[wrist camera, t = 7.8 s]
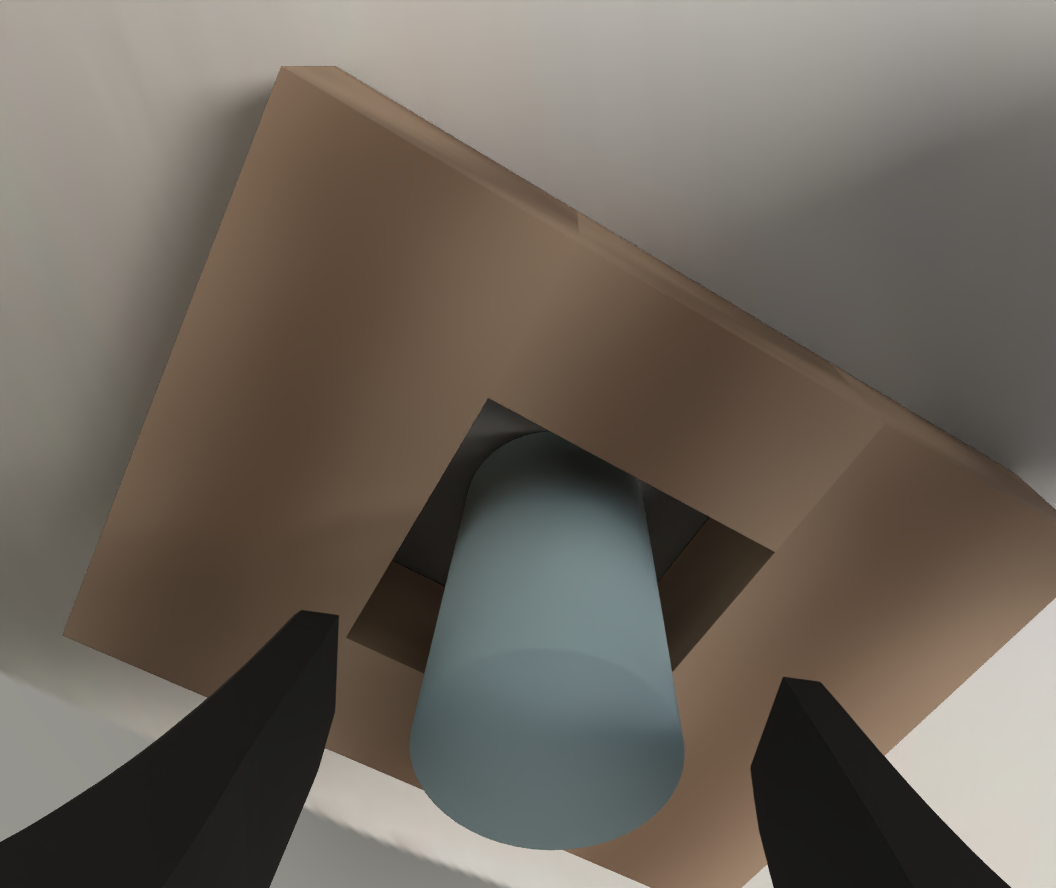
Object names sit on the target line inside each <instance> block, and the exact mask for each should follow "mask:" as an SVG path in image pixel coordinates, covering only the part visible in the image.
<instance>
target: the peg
mask: <svg viewBox="0 0 1056 888" xmlns="http://www.w3.org/2000/svg"><path fill="white" fill-rule="evenodd" d="M410 757H411V761H412V766H413V769H414V772H415V774H416V777H417V779H418V781H419V783H420V784H421V786H422V788H423V790H424V791H425V793H426V794H427V795H428V796H429V798H430V799H431V800H432V801H433V803H434V804H435V805H436V806H437V807H438V808H439V809H441V810H442V811H443V812H444V813H445V814H446V815H447V816H449V817H450V818H451V819H453V820H454V821H455V822H457V823H458V824H460V825H462V826H463V827H465V828H467V829H469V830H470V831H472V832H475V833H477V834H479V835H481V836H483V837H486V838H488V839H491V840H494V841H497V842H500V843H504V844H508V845H512V846H516V847H522V848H529V849H540V850H567V849H576V848H584V847H588V846H593V845H598V844H601V843H604V842H607V841H611V840H614V839H616V838H618V837H621V836H623V835H625V834H627V833H629V832H631V831H633V830H635V829H636V828H638V827H640V826H641V825H643V824H644V823H645V822H647V821H648V820H649V819H651V818H652V817H653V816H654V815H655V814H656V813H657V812H659V811H660V810H661V809H662V808H663V807H664V805H665V804H666V803H667V801H668V800H669V799H670V797H671V796H672V794H673V793H674V791H675V789H676V787H677V785H678V783H679V780H680V777H681V774H682V772H683V765H684V759H685V754H684V740H683V734H682V728H681V722H680V716H679V710H678V704H677V698H676V692H675V686H674V680H673V674H672V669H671V663H670V657H669V651H668V645H667V639H666V633H665V627H664V621H663V615H662V609H661V603H660V597H659V591H658V585H657V579H656V573H655V567H654V561H653V555H652V549H651V543H650V537H649V531H648V525H647V519H646V513H645V507H644V501H643V496H642V491H641V488H640V486H639V483H638V480H637V479H636V477H634V476H632V475H631V474H629V473H627V472H625V471H623V470H621V469H619V468H618V467H616V466H614V465H612V464H610V463H608V462H606V461H605V460H603V459H601V458H599V457H597V456H595V455H593V454H592V453H590V452H588V451H586V450H584V449H582V448H580V447H579V446H577V445H575V444H573V443H571V442H569V441H567V440H566V439H564V438H562V437H560V436H558V435H556V434H554V433H553V432H551V431H549V432H539V433H533V434H528V435H525V436H522V437H519V438H516V439H514V440H512V441H510V442H508V443H506V444H505V445H503V446H501V447H500V448H498V449H497V450H496V451H494V452H493V453H492V454H491V455H490V456H488V458H487V459H486V460H485V461H484V462H483V463H482V464H481V466H480V467H479V469H478V470H477V472H476V473H475V475H474V477H473V479H472V481H471V484H470V487H469V490H468V494H467V498H466V502H465V507H464V511H463V515H462V519H461V523H460V527H459V532H458V536H457V540H456V544H455V548H454V552H453V557H452V561H451V565H450V569H449V573H448V577H447V582H446V586H445V590H444V594H443V598H442V603H441V607H440V611H439V615H438V619H437V623H436V628H435V632H434V636H433V640H432V644H431V648H430V653H429V657H428V661H427V665H426V669H425V673H424V678H423V682H422V686H421V690H420V694H419V698H418V703H417V707H416V711H415V715H414V719H413V723H412V728H411V734H410Z"/></svg>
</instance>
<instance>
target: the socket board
mask: <svg viewBox="0 0 1056 888" xmlns="http://www.w3.org/2000/svg"><path fill="white" fill-rule="evenodd" d="M488 398H489V399H491V400H493V401H495V402H497V403H499V404H500V405H502V406H504V407H506V408H508V409H510V410H512V411H513V412H515V413H517V414H519V415H521V416H523V417H525V418H526V419H528V420H530V421H532V422H534V423H536V424H538V425H539V426H541V427H543V428H545V429H547V430H549V431H551V432H553V433H554V434H556V435H558V436H560V437H562V438H564V439H566V440H567V441H569V442H571V443H573V444H575V445H577V446H579V447H580V448H582V449H584V450H586V451H588V452H590V453H592V454H593V455H595V456H597V457H599V458H601V459H603V460H605V461H606V462H608V463H610V464H612V465H614V466H616V467H618V468H619V469H621V470H623V471H625V472H627V473H629V474H631V475H632V476H634V477H636V478H638V479H640V480H642V481H644V482H646V483H647V484H649V485H651V486H653V487H655V488H657V489H659V490H660V491H662V492H664V493H666V494H668V495H670V496H672V497H673V498H675V499H677V500H679V501H681V502H683V503H685V504H686V505H688V506H690V507H692V508H694V509H696V510H698V511H699V512H701V513H703V514H705V515H707V516H709V518H708V520H707V521H706V522H705V523H704V525H703V526H702V527H701V528H700V530H699V531H698V532H697V533H696V535H695V536H694V537H693V538H692V540H691V541H690V542H689V544H688V545H687V546H686V547H685V549H684V550H683V551H682V552H681V554H680V555H679V556H678V557H677V559H676V560H675V561H674V563H673V564H672V565H671V566H670V568H669V569H668V570H667V571H666V573H665V574H664V575H663V576H662V578H661V579H660V580H659V581H658V583H657V585H658V591H659V597H660V603H661V609H662V615H663V621H664V627H665V633H666V639H667V645H668V651H669V657H670V663H671V669H672V674H673V680H674V686H675V692H676V698H677V704H678V710H679V716H680V722H681V728H682V734H683V740H684V754H685V759H684V765H683V772H682V774H681V777H680V780H679V783H678V785H677V787H676V789H675V791H674V793H673V794H672V796H671V797H670V799H669V800H668V801H667V803H666V804H665V805H664V807H663V808H662V809H661V810H660V811H659V812H657V813H656V814H655V815H654V816H653V817H652V818H651V819H649V820H648V821H647V822H645V823H644V824H643V825H641V826H640V827H638V828H636V829H635V830H633V831H631V832H629V833H627V834H625V835H623V836H621V837H618V838H616V839H614V840H611V841H607V842H604V843H601V844H598V845H593V846H588V847H584V848H576V849H567V850H565V851H567V852H569V853H572V854H574V855H576V856H579V857H581V858H583V859H586V860H588V861H590V862H593V863H595V864H597V865H600V866H602V867H604V868H607V869H609V870H611V871H614V872H616V873H618V874H621V875H623V876H625V877H628V878H630V879H632V880H635V881H637V882H639V883H642V884H644V885H646V886H649V887H651V888H742V887H743V886H744V885H745V884H746V883H747V882H748V881H749V880H750V879H752V878H753V877H754V876H755V875H756V874H757V873H758V872H759V871H760V870H761V869H762V868H763V867H764V866H766V865H767V860H766V856H765V853H764V849H763V845H762V841H761V837H760V833H759V828H758V822H757V815H756V809H755V802H754V794H753V786H752V778H751V770H750V766H751V764H752V761H753V758H754V755H755V752H756V750H757V747H758V744H759V741H760V739H761V736H762V733H763V730H764V728H765V725H766V722H767V719H768V716H769V714H770V711H771V708H772V705H773V703H774V700H775V697H776V694H777V692H778V689H779V686H780V683H781V680H782V678H783V677H790V678H798V679H805V680H812V681H819V682H821V683H822V684H823V685H824V686H825V687H826V689H827V690H828V691H829V692H830V693H831V694H832V695H833V697H834V698H835V699H836V700H837V701H838V702H839V704H840V705H841V706H842V707H843V708H844V709H845V711H846V712H847V713H848V714H849V715H850V716H851V718H852V719H853V720H854V721H855V722H856V724H857V725H858V726H859V727H860V728H861V729H862V731H863V732H864V733H865V734H866V735H867V737H868V738H869V739H870V740H871V741H872V742H873V744H874V745H875V746H876V747H877V748H878V749H879V751H880V752H881V753H882V754H883V755H884V756H885V755H886V754H887V753H888V752H889V751H890V750H891V749H892V748H893V747H894V746H895V745H897V744H898V743H899V742H900V741H901V740H902V739H903V738H904V737H905V736H906V735H907V734H908V733H910V732H911V731H912V730H913V729H914V728H915V727H916V726H917V725H918V724H919V723H920V722H921V721H923V720H924V719H925V718H926V717H927V716H928V715H929V714H930V713H931V712H932V711H933V710H934V709H936V708H937V707H938V706H939V705H940V704H941V703H942V702H943V701H944V700H945V699H946V698H947V697H949V696H950V695H951V694H952V693H953V692H954V691H955V690H956V689H957V688H958V687H959V686H960V685H962V684H963V683H964V682H965V681H966V680H967V679H968V678H969V677H970V676H971V675H972V674H973V673H975V672H976V671H977V670H978V669H979V668H980V667H981V666H982V665H983V664H984V663H985V662H986V661H987V660H989V659H990V658H991V657H992V656H993V655H994V654H995V653H996V652H997V651H998V650H999V649H1000V648H1002V647H1003V646H1004V645H1005V644H1006V643H1007V642H1008V641H1009V640H1010V639H1011V638H1012V637H1013V636H1015V635H1016V634H1017V633H1018V632H1019V631H1020V630H1021V629H1022V628H1023V627H1024V626H1025V625H1026V624H1028V623H1029V622H1030V621H1031V620H1032V619H1033V618H1034V617H1035V616H1036V615H1037V614H1038V613H1039V612H1041V611H1042V610H1043V609H1044V608H1045V607H1046V606H1047V605H1048V604H1049V603H1050V602H1051V601H1052V600H1054V599H1055V598H1056V510H1055V509H1054V508H1053V507H1052V506H1051V505H1050V504H1049V503H1047V502H1046V501H1045V500H1044V499H1043V498H1042V497H1041V496H1040V495H1039V494H1038V493H1036V492H1035V491H1034V490H1033V489H1032V488H1031V487H1030V486H1029V485H1028V484H1026V483H1025V482H1024V481H1023V480H1022V479H1021V478H1020V477H1019V476H1018V475H1016V474H1014V473H1013V472H1011V471H1009V470H1008V469H1006V468H1004V467H1003V466H1001V465H999V464H998V463H996V462H994V461H993V460H991V459H989V458H988V457H986V456H984V455H983V454H981V453H979V452H978V451H976V450H974V449H973V448H971V447H969V446H968V445H966V444H964V443H963V442H961V441H959V440H958V439H956V438H954V437H953V436H951V435H949V434H948V433H946V432H944V431H943V430H941V429H939V428H938V427H936V426H934V425H933V424H931V423H929V422H928V421H926V420H924V419H923V418H921V417H919V416H918V415H916V414H914V413H913V412H911V411H909V410H908V409H906V408H904V407H903V406H901V405H899V404H898V403H896V402H894V401H893V400H891V399H889V398H888V397H886V396H884V395H883V394H881V393H879V392H878V391H876V390H874V389H873V388H871V387H869V386H868V385H866V384H864V383H863V382H861V381H859V380H858V379H856V378H854V377H853V376H851V375H849V374H848V373H846V372H844V371H843V370H841V369H839V368H838V367H836V366H834V365H833V364H831V363H829V362H828V361H826V360H824V359H823V358H821V357H819V356H818V355H816V354H814V353H813V352H811V351H809V350H808V349H806V348H804V347H803V346H801V345H799V344H798V343H796V342H794V341H793V340H791V339H789V338H788V337H786V336H784V335H783V334H781V333H779V332H778V331H776V330H774V329H773V328H771V327H769V326H768V325H766V324H764V323H763V322H761V321H759V320H758V319H756V318H754V317H753V316H751V315H749V314H748V313H746V312H744V311H743V310H741V309H739V308H738V307H736V306H734V305H733V304H731V303H729V302H728V301H726V300H724V299H723V298H721V297H719V296H718V295H716V294H714V293H713V292H711V291H709V290H708V289H706V288H704V287H703V286H701V285H699V284H698V283H696V282H694V281H693V280H691V279H689V278H688V277H686V276H684V275H683V274H681V273H679V272H678V271H676V270H674V269H673V268H671V267H669V266H668V265H666V264H664V263H663V262H661V261H659V260H658V259H656V258H654V257H653V256H651V255H649V254H648V253H646V252H644V251H643V250H641V249H639V248H638V247H636V246H634V245H633V244H631V243H629V242H628V241H626V240H624V239H623V238H621V237H619V236H618V235H616V234H614V233H613V232H611V231H609V230H608V229H606V228H604V227H603V226H601V225H599V224H598V223H596V222H594V221H593V220H591V219H589V218H588V217H586V216H584V215H583V214H581V213H579V212H578V211H576V210H574V209H573V208H571V207H569V206H568V205H566V204H564V203H563V202H561V201H559V200H558V199H556V198H554V197H553V196H551V195H549V194H548V193H546V192H544V191H543V190H541V189H539V188H538V187H536V186H534V185H533V184H531V183H529V182H528V181H526V180H524V179H523V178H521V177H519V176H518V175H516V174H514V173H513V172H511V171H509V170H508V169H506V168H504V167H503V166H501V165H499V164H498V163H496V162H494V161H493V160H491V159H489V158H488V157H486V156H484V155H483V154H481V153H479V152H478V151H476V150H474V149H473V148H471V147H469V146H468V145H466V144H464V143H463V142H461V141H459V140H458V139H456V138H454V137H453V136H451V135H449V134H448V133H446V132H444V131H443V130H441V129H439V128H438V127H436V126H434V125H433V124H431V123H429V122H428V121H426V120H424V119H423V118H421V117H419V116H418V115H416V114H414V113H413V112H411V111H409V110H408V109H406V108H404V107H403V106H401V105H399V104H398V103H396V102H394V101H393V100H391V99H389V98H388V97H386V96H384V95H383V94H381V93H379V92H378V91H376V90H374V89H373V88H371V87H369V86H368V85H366V84H364V83H363V82H361V81H359V80H358V79H356V78H354V77H353V76H351V75H349V74H348V73H346V72H344V71H343V70H341V69H339V68H338V67H336V66H281V68H280V71H279V74H278V76H277V79H276V81H275V84H274V87H273V89H272V92H271V94H270V97H269V100H268V102H267V105H266V107H265V110H264V113H263V115H262V118H261V120H260V123H259V126H258V128H257V131H256V133H255V136H254V139H253V141H252V144H251V146H250V149H249V152H248V154H247V157H246V159H245V162H244V165H243V167H242V170H241V172H240V175H239V178H238V180H237V183H236V185H235V188H234V191H233V193H232V196H231V198H230V201H229V203H228V206H227V209H226V211H225V214H224V216H223V219H222V222H221V224H220V227H219V229H218V232H217V235H216V237H215V240H214V242H213V245H212V248H211V250H210V253H209V255H208V258H207V261H206V263H205V266H204V268H203V271H202V274H201V276H200V279H199V281H198V284H197V287H196V289H195V292H194V294H193V297H192V300H191V302H190V305H189V307H188V310H187V313H186V315H185V318H184V320H183V323H182V326H181V328H180V331H179V333H178V336H177V339H176V341H175V344H174V346H173V349H172V352H171V354H170V357H169V359H168V362H167V365H166V367H165V370H164V372H163V375H162V378H161V380H160V383H159V385H158V388H157V391H156V393H155V396H154V398H153V401H152V404H151V406H150V409H149V411H148V414H147V417H146V419H145V422H144V424H143V427H142V430H141V432H140V435H139V437H138V440H137V443H136V445H135V448H134V450H133V453H132V456H131V458H130V461H129V463H128V466H127V469H126V471H125V474H124V476H123V479H122V482H121V484H120V487H119V489H118V492H117V495H116V497H115V500H114V502H113V505H112V508H111V510H110V513H109V515H108V518H107V521H106V523H105V526H104V528H103V531H102V534H101V536H100V539H99V541H98V544H97V547H96V549H95V552H94V554H93V557H92V560H91V562H90V565H89V567H88V570H87V573H86V575H85V578H84V580H83V583H82V586H81V588H80V591H79V593H78V596H77V599H76V601H75V604H74V606H73V609H72V612H71V614H70V617H69V619H68V622H67V624H66V627H65V630H64V632H63V636H65V637H67V638H70V639H72V640H74V641H77V642H79V643H81V644H84V645H86V646H88V647H91V648H93V649H95V650H98V651H100V652H102V653H105V654H107V655H109V656H112V657H114V658H116V659H119V660H121V661H123V662H126V663H128V664H130V665H133V666H135V667H137V668H140V669H142V670H144V671H147V672H149V673H151V674H154V675H156V676H158V677H161V678H163V679H165V680H168V681H170V682H172V683H175V684H177V685H179V686H182V687H184V688H186V689H189V690H191V691H193V692H196V693H198V694H200V695H203V696H205V697H207V698H208V697H209V696H211V695H212V694H213V693H214V692H215V691H216V690H217V689H218V688H219V687H221V686H222V685H223V684H224V683H225V682H226V681H227V680H228V679H229V678H230V677H231V676H233V675H234V674H235V673H236V672H237V671H238V670H239V669H240V668H241V667H242V666H243V665H245V664H246V663H247V662H248V661H249V660H250V659H251V658H252V657H253V656H254V655H255V654H256V653H257V652H258V651H259V650H260V649H261V648H262V647H263V646H264V645H265V644H266V643H267V642H268V641H269V640H270V639H271V638H272V637H273V636H274V635H275V634H276V633H277V632H278V631H279V630H280V629H281V628H282V627H283V626H284V625H285V624H286V623H287V622H288V621H289V619H290V618H291V617H292V616H293V615H294V614H296V613H297V612H299V611H300V610H306V611H313V612H321V613H328V614H335V615H339V630H338V655H337V681H336V707H335V714H334V717H333V721H332V724H331V728H330V731H329V735H328V738H327V742H326V745H325V748H326V749H329V750H331V751H333V752H336V753H338V754H340V755H343V756H345V757H347V758H350V759H352V760H354V761H357V762H359V763H361V764H364V765H366V766H368V767H371V768H373V769H375V770H378V771H380V772H382V773H385V774H387V775H389V776H392V777H394V778H396V779H399V780H401V781H403V782H406V783H408V784H410V785H413V786H415V787H417V788H420V789H422V790H423V788H422V786H421V784H420V783H419V781H418V779H417V777H416V774H415V772H414V769H413V766H412V761H411V757H410V734H411V728H412V723H413V719H414V715H415V711H416V707H417V703H418V698H419V694H420V690H421V686H422V682H423V678H424V673H425V669H426V665H427V661H428V657H429V653H430V648H431V644H432V640H433V636H434V632H435V628H436V623H437V619H438V615H439V611H440V607H441V603H442V598H443V594H444V590H445V586H443V585H441V584H439V583H436V582H434V581H432V580H430V579H428V578H426V577H424V576H422V575H420V574H418V573H416V572H414V571H412V570H410V569H407V568H405V567H403V566H401V565H399V564H397V563H395V562H393V561H392V559H393V557H394V556H395V554H396V552H397V551H398V549H399V547H400V546H401V544H402V542H403V541H404V539H405V537H406V536H407V534H408V532H409V530H410V529H411V527H412V525H413V524H414V522H415V520H416V519H417V517H418V515H419V514H420V512H421V510H422V509H423V507H424V505H425V503H426V502H427V500H428V498H429V497H430V495H431V493H432V492H433V490H434V488H435V487H436V485H437V483H438V482H439V480H440V478H441V477H442V475H443V473H444V471H445V470H446V468H447V466H448V465H449V463H450V461H451V460H452V458H453V456H454V455H455V453H456V451H457V450H458V448H459V446H460V445H461V443H462V441H463V439H464V438H465V436H466V434H467V433H468V431H469V429H470V428H471V426H472V424H473V423H474V421H475V419H476V418H477V416H478V414H479V413H480V411H481V409H482V407H483V406H484V404H485V402H486V401H487V399H488Z"/></svg>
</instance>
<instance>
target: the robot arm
mask: <svg viewBox="0 0 1056 888" xmlns="http://www.w3.org/2000/svg"><path fill="white" fill-rule="evenodd" d="M338 630H339V615H335V614H328V613H321V612H313V611H306V610H300V611H299V612H297V613H296V614H294V615H293V616H292V617H291V618H290V619H289V621H288V622H287V623H286V624H285V625H284V626H283V627H282V628H281V629H280V630H279V631H278V632H277V633H276V634H275V635H274V636H273V637H272V638H271V639H270V640H269V641H268V642H267V643H266V644H265V645H264V646H263V647H262V648H261V649H260V650H259V651H258V652H257V653H256V654H255V655H254V656H253V657H252V658H251V659H250V660H249V661H248V662H247V663H246V664H245V665H243V666H242V667H241V668H240V669H239V670H238V671H237V672H236V673H235V674H234V675H233V676H231V677H230V678H229V679H228V680H227V681H226V682H225V683H224V684H223V685H222V686H221V687H219V688H218V689H217V690H216V691H215V692H214V693H213V694H212V695H211V696H209V697H208V698H207V699H206V700H205V701H204V702H203V703H201V704H200V705H199V706H198V707H197V708H195V709H194V710H193V711H192V712H191V713H189V714H188V715H187V716H186V717H184V718H183V719H182V720H181V721H180V722H178V723H177V724H176V725H175V726H174V727H172V728H171V729H170V730H169V731H168V732H166V733H165V734H164V735H163V736H161V737H160V738H159V739H157V740H156V741H155V742H154V743H152V744H151V745H150V746H148V747H147V748H146V749H145V750H143V751H142V752H140V753H139V754H138V755H136V756H135V757H134V758H132V759H131V760H130V761H128V762H127V763H125V764H124V765H122V766H121V767H120V768H118V769H117V770H115V771H114V772H113V773H111V774H110V775H108V776H107V777H105V778H104V779H102V780H101V781H100V782H98V783H97V784H95V785H93V786H92V787H90V788H89V789H87V790H86V791H84V792H83V793H81V794H80V795H78V796H77V797H75V798H73V799H72V800H70V801H69V802H67V803H66V804H64V805H63V806H61V807H59V808H58V809H56V810H55V811H53V812H51V813H50V814H48V815H47V816H45V817H43V818H42V819H40V820H38V821H37V822H35V823H34V824H32V825H30V826H28V827H27V828H25V829H23V830H21V831H20V832H18V833H16V834H14V835H12V836H11V837H9V838H7V839H5V840H3V841H1V842H0V888H269V887H270V885H271V882H272V880H273V877H274V875H275V873H276V870H277V868H278V866H279V863H280V861H281V858H282V856H283V854H284V851H285V849H286V846H287V844H288V842H289V839H290V837H291V835H292V832H293V830H294V827H295V825H296V823H297V820H298V818H299V815H300V813H301V811H302V808H303V806H304V803H305V801H306V799H307V796H308V794H309V791H310V789H311V787H312V784H313V782H314V779H315V777H316V774H317V772H318V769H319V765H320V762H321V759H322V755H323V752H324V749H325V745H326V742H327V738H328V735H329V731H330V728H331V724H332V721H333V717H334V714H335V707H336V681H337V655H338ZM750 770H751V778H752V786H753V794H754V802H755V809H756V815H757V822H758V828H759V833H760V837H761V841H762V845H763V849H764V853H765V856H766V860H767V864H768V868H769V872H770V875H771V879H772V883H773V887H774V888H1011V887H1010V886H1009V885H1008V884H1007V883H1006V882H1005V881H1003V880H1002V879H1001V878H1000V877H999V876H998V875H997V874H996V873H995V872H994V871H993V870H991V869H990V868H989V867H988V866H987V865H986V864H985V863H984V862H983V861H982V860H981V859H980V858H979V857H978V856H977V855H976V854H975V853H974V852H973V851H972V850H971V849H970V848H969V847H968V846H967V845H966V844H965V843H964V842H963V841H962V840H961V839H960V838H959V837H958V836H957V835H956V834H955V833H954V832H953V831H952V830H951V829H950V828H949V827H948V826H947V824H946V823H945V822H944V821H943V820H942V819H941V818H940V817H939V816H938V815H937V814H936V813H935V812H934V811H933V810H932V809H931V808H930V807H929V806H928V804H927V803H926V802H925V801H924V800H923V799H922V798H921V797H920V796H919V795H918V794H917V793H916V791H915V790H914V789H913V788H912V787H911V786H910V785H909V784H908V783H907V781H906V780H905V779H904V778H903V777H902V776H901V775H900V774H899V772H898V771H897V770H896V769H895V768H894V767H893V766H892V764H891V763H890V762H889V761H888V760H887V759H886V758H885V756H884V755H883V754H882V753H881V752H880V751H879V749H878V748H877V747H876V746H875V745H874V744H873V742H872V741H871V740H870V739H869V738H868V737H867V735H866V734H865V733H864V732H863V731H862V729H861V728H860V727H859V726H858V725H857V724H856V722H855V721H854V720H853V719H852V718H851V716H850V715H849V714H848V713H847V712H846V711H845V709H844V708H843V707H842V706H841V705H840V704H839V702H838V701H837V700H836V699H835V698H834V697H833V695H832V694H831V693H830V692H829V691H828V690H827V689H826V687H825V686H824V685H823V684H822V683H821V682H819V681H812V680H805V679H798V678H790V677H783V678H782V680H781V683H780V686H779V689H778V692H777V694H776V697H775V700H774V703H773V705H772V708H771V711H770V714H769V716H768V719H767V722H766V725H765V728H764V730H763V733H762V736H761V739H760V741H759V744H758V747H757V750H756V752H755V755H754V758H753V761H752V764H751V766H750Z"/></svg>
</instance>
